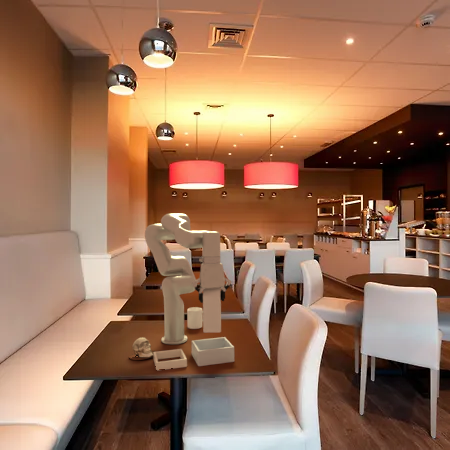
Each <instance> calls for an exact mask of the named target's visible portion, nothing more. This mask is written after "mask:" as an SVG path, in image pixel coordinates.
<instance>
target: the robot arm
mask: <svg viewBox="0 0 450 450" xmlns="http://www.w3.org/2000/svg"><path fill="white" fill-rule="evenodd" d="M191 228H192V227H191V219H190V217H189V216H188V215H187V214H185V213H166V214H164V215H163V216H162V217H161V219H160V223H154V224H153V223H152V224H149V225H148V226H147V227H145V230H144V239H145V240H144V241H145V243H146V245H147V248H148V249H149V251H150V252H151V254H152V256H153V258H154V261H155V264H156V267H157V270H158V272H159V273H160V275H161V276H164V277H165V278H163V280H162V282H161V290H162V295H163V305H164V306H163V309H164V312H163V313H164V314H163V315H164V325H163V326H164V336H162V337H161V338H160V339H161V343H163V344H165V345H181V344H184V343H185V342H187V341H188V336H187V335H185V305H184V304H185V302H184V301H183V299H182V298H181V296H180V295H184V294H190V293H193V292H195V291H197V292H198V302H200V303H201V304H203V290H204V289H205V288H220V293H221V301H222V302H225V299H226V291H227V290H228V289H229V287H230V285H231V284H232V280H230V279H228V278H227V277H225V272H224V271H225V270H224V265H223V263H221V234H220V232H219V231H214V230H213V231H211V230H191ZM173 240H175V242H176V243H177V245H180V246H181V247H183V248H185V249H201V248H202V257H199V258H198V259H199V260H198V261H199V262H201V264H200V270H199V277H198V278H196V276H195V274H194V272H193V269H192V267H191V264H190V262H189V260H188V258H186V257H185V256H183V255H172V253H171V251H170V249H169V247H168V246H167V245H166V244H165V243H163V242H162V241H173ZM197 284H199V287H198V286H197Z"/></svg>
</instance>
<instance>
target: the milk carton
mask: <svg viewBox="0 0 450 450" xmlns="http://www.w3.org/2000/svg"><path fill="white" fill-rule="evenodd" d="M220 291H221V288H205V289H204V290H203V291H202V293H203V303H202V311H203V313H202V320H203V321H202V328H203V329H202V330H203V332H202V333H221V332H222V302H221V301H222V300H221V293H220Z"/></svg>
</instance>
